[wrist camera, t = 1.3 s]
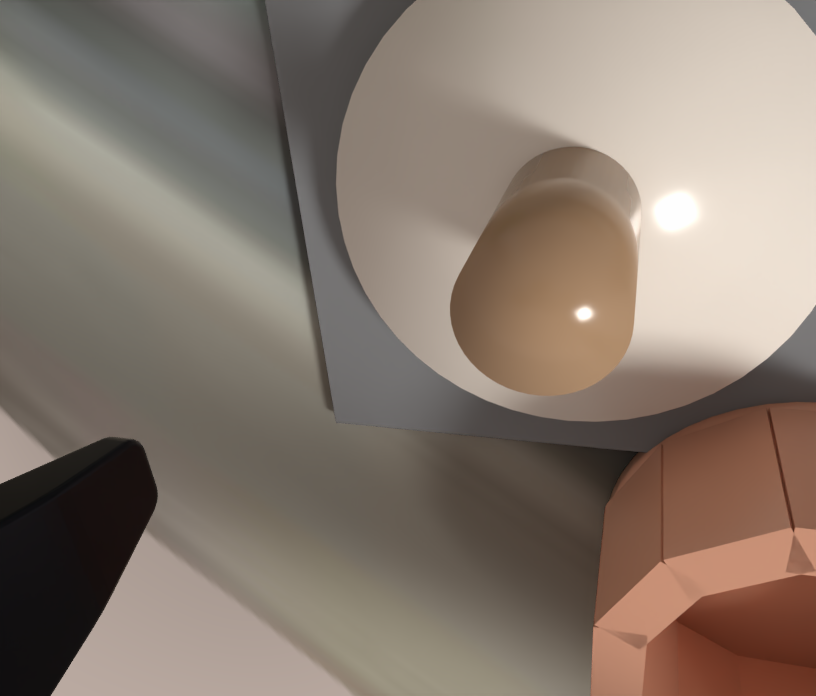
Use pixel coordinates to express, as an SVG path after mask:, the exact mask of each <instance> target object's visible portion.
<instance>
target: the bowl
mask: <svg viewBox="0 0 816 696" xmlns="http://www.w3.org/2000/svg"><path fill="white" fill-rule="evenodd" d="M591 696H816V402H789V403H775V404H765V405H759V406H753V407H748V408H742V409H737V410H734V411H730V412H727V413H723V414H720V415H716V416H712V417H710V418H707V419H705V420H702V421H700V422H698V423H695V424H693V425H690V426H688V427H686V428H684V429H682V430H680V431H679V432H677V433H675V434H673V435H671V436H670V437H668V438H666V439H665V440H663V441H662V442H661V443H659V444H658V445H656V446H655V447H654V448H652V449H651V450H650V451H648V452H647V453H644V452H638V453H637V454H636V455H635V456H634V457H633V458H632V460H631V461H630V462H629V464H628V465H627V466H626V468H625V469H624V470H623V472H622V473H621V475H620V477H619V479H618V481H617V482H616V484H615V486H614V488H613V491H612V494H611V497H610V500H609V502H608V503H607V504H606V507H605V512H604V522H603V533H602V543H601V553H600V564H599V574H598V584H597V594H596V605H595V615H594V625H593V647H592V672H591Z"/></svg>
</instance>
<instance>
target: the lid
mask: <svg viewBox="0 0 816 696" xmlns="http://www.w3.org/2000/svg"><path fill="white" fill-rule="evenodd" d="M336 190H337V202H338V214H339V218H340V223H341V228H342V233H343V238H344V242H345V245H346V248H347V251H348V254H349V257H350V260H351V262H352V265H353V268H354V270H355V272H356V274H357V277H358V279H359V281H360V283H361V285H362V287H363V289H364V291H365V293H366V295H367V296H368V298H369V299H370V301H371V303H372V304H373V306H374V307H375V309H376V311H377V312H378V314H379V315H380V317H381V318H382V319H383V320H384V322H385V323H386V324H387V325H388V327H389V328H390V329H391V330H392V332H393V333H394V334H395V335H396V337H397V338H398V339H399V340H400V341H401V342H402V343H403V344H404V345H405V346H406V347H407V348H408V349H409V350H410V351H411V352H412V353H413V354H414V355H415V356H416V357H418V358H419V359H420V360H421V361H423V362H424V363H425V364H426V365H428V366H429V367H430V368H432V369H433V370H434V371H435V372H437V373H438V374H439V375H441V376H443V377H444V378H446V379H447V380H449V381H451V382H452V383H454V384H455V385H457V386H458V387H460V388H462V389H464V390H466V391H468V392H470V393H472V394H474V395H476V396H478V397H480V398H482V399H484V400H486V401H489V402H492V403H495V404H497V405H500V406H503V407H506V408H508V409H511V410H514V411H518V412H522V413H526V414H530V415H535V416H539V417H545V418H552V419H559V420H566V421H590V422H600V421H614V420H627V419H632V418H638V417H643V416H649V415H654V414H658V413H662V412H665V411H668V410H672V409H675V408H679V407H682V406H685V405H688V404H690V403H692V402H695V401H697V400H699V399H702V398H704V397H706V396H709V395H711V394H714V393H715V392H717V391H719V390H721V389H722V388H724V387H726V386H728V385H729V384H731V383H733V382H735V381H737V380H738V379H740V378H742V377H743V376H744V375H746V374H747V373H748V372H750V371H751V370H753V369H754V368H755V367H757V366H758V365H759V364H761V363H762V362H763V361H765V360H766V359H767V358H768V357H770V356H771V355H772V354H773V353H774V352H775V351H776V350H777V349H778V348H779V347H780V346H781V345H782V344H783V343H784V342H785V341H787V340H788V339H789V338H790V337H791V336H792V334H793V333H794V332H795V331H796V330H797V328H798V327H799V326H800V325H801V323H802V322H803V321H804V320H805V319H806V317H807V316H808V315H809V314H810V312H811V311H812V310H813V308H814V307H815V305H816V35H815V34H814V33H813V32H812V30H811V29H810V28H809V27H808V25H807V24H806V23H805V22H804V20H803V19H802V18H801V17H800V15H799V14H798V13H797V12H796V10H795V9H794V8H793V7H792V6H791V5H790V4H789V3H788V2H786V1H785V0H416V1H415V2H414V3H413V4H412V5H411V6H409V7H408V8H407V9H406V10H405V11H404V13H403V14H402V15H401V16H400V17H399V19H398V20H397V21H396V22H395V23H394V24H393V26H392V27H391V28H390V29H389V30H388V32H387V33H386V34H385V35H384V36H383V38H382V40H381V41H380V43H379V44H378V46H377V47H376V49H375V51H374V52H373V54H372V55H371V57H370V58H369V60H368V62H367V63H366V65H365V67H364V69H363V71H362V73H361V76H360V78H359V80H358V82H357V84H356V86H355V89H354V91H353V93H352V95H351V99H350V102H349V105H348V108H347V112H346V115H345V118H344V121H343V124H342V130H341V136H340V142H339V148H338V153H337V173H336Z"/></svg>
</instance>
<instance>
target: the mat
mask: <svg viewBox="0 0 816 696" xmlns="http://www.w3.org/2000/svg"><path fill="white" fill-rule="evenodd" d="M415 1H416V0H265V5H266V11H267V16H268V22H269V28H270V34H271V40H272V46H273V52H274V58H275V64H276V70H277V76H278V82H279V88H280V94H281V99H282V105H283V111H284V117H285V123H286V129H287V135H288V141H289V147H290V153H291V159H292V165H293V171H294V176H295V182H296V188H297V194H298V200H299V206H300V212H301V218H302V224H303V230H304V236H305V242H306V248H307V254H308V259H309V265H310V271H311V277H312V283H313V289H314V295H315V301H316V307H317V313H318V319H319V325H320V331H321V336H322V342H323V348H324V354H325V360H326V366H327V372H328V378H329V384H330V390H331V396H332V402H333V408H334V413H335V419H336V423H345V424H356V425H366V426H376V427H387V428H397V429H407V430H417V431H428V432H438V433H448V434H459V435H469V436H479V437H490V438H500V439H510V440H521V441H531V442H541V443H551V444H562V445H572V446H582V447H593V448H603V449H613V450H624V451H634V452H644V453H647V452H648V451H650V450H651V449H652V448H654V447H655V446H656V445H658V444H659V443H661V442H662V441H663V440H665V439H666V438H668V437H670V436H671V435H673V434H675V433H677V432H679V431H680V430H682V429H684V428H686V427H688V426H690V425H693V424H695V423H698V422H700V421H702V420H705V419H707V418H710V417H712V416H716V415H720V414H723V413H727V412H730V411H734V410H737V409H742V408H748V407H753V406H759V405H765V404H775V403H789V402H816V305H815V307H814V308H813V310H812V311H811V312H810V314H809V315H808V316H807V317H806V319H805V320H804V321H803V322H802V323H801V325H800V326H799V327H798V328H797V330H796V331H795V332H794V333H793V334H792V336H791V337H790V338H789V339H788V340H787V341H785V342H784V343H783V344H782V345H781V346H780V347H779V348H778V349H777V350H776V351H775V352H774V353H773V354H772V355H771V356H770V357H768V358H767V359H766V360H765V361H763V362H762V363H761V364H759V365H758V366H757V367H755V368H754V369H753V370H751V371H750V372H748V373H747V374H746V375H744V376H743V377H742V378H740V379H738V380H737V381H735V382H733V383H731V384H729V385H728V386H726V387H724V388H722V389H721V390H719V391H717V392H715V393H714V394H711V395H709V396H706V397H704V398H702V399H699V400H697V401H695V402H692V403H690V404H688V405H685V406H682V407H679V408H675V409H672V410H668V411H665V412H662V413H658V414H654V415H649V416H643V417H638V418H632V419H627V420H614V421H600V422H590V421H566V420H559V419H552V418H545V417H539V416H535V415H530V414H526V413H522V412H518V411H514V410H511V409H508V408H506V407H503V406H500V405H497V404H495V403H492V402H489V401H486V400H484V399H482V398H480V397H478V396H476V395H474V394H472V393H470V392H468V391H466V390H464V389H462V388H460V387H458V386H457V385H455V384H454V383H452V382H451V381H449V380H447V379H446V378H444V377H443V376H441V375H439V374H438V373H437V372H435V371H434V370H433V369H432V368H430V367H429V366H428V365H426V364H425V363H424V362H423V361H421V360H420V359H419V358H418V357H416V356H415V355H414V354H413V353H412V352H411V351H410V350H409V349H408V348H407V347H406V346H405V345H404V344H403V343H402V342H401V341H400V340H399V339H398V338H397V337H396V335H395V334H394V333H393V332H392V330H391V329H390V328H389V327H388V325H387V324H386V323H385V322H384V320H383V319H382V318H381V317H380V315H379V314H378V312H377V311H376V309H375V307H374V306H373V304H372V303H371V301H370V299H369V298H368V296H367V295H366V293H365V291H364V289H363V287H362V285H361V283H360V281H359V279H358V277H357V274H356V272H355V270H354V268H353V265H352V262H351V260H350V257H349V254H348V251H347V248H346V245H345V242H344V238H343V233H342V228H341V223H340V218H339V214H338V202H337V190H336V173H337V153H338V148H339V142H340V136H341V130H342V124H343V121H344V118H345V115H346V112H347V108H348V105H349V102H350V99H351V95H352V93H353V91H354V89H355V86H356V84H357V82H358V80H359V78H360V76H361V73H362V71H363V69H364V67H365V65H366V63H367V62H368V60H369V58H370V57H371V55H372V54H373V52H374V51H375V49H376V47H377V46H378V44H379V43H380V41H381V40H382V38H383V36H384V35H385V34H386V33H387V32H388V30H389V29H390V28H391V27H392V26H393V24H394V23H395V22H396V21H397V20H398V19H399V17H400V16H401V15H402V14H403V13H404V11H405V10H406V9H407V8H408V7H409V6H411V5H412V4H413V3H414V2H415ZM785 1H786V2H788V3H789V4H790V5H791V6H792V7H793V8H794V9H795V10H796V12H797V13H798V14H799V15H800V17H801V18H802V19H803V20H804V22H805V23H806V24H807V25H808V27H809V28H810V29H811V30H812V32H813V33H814V34H815V35H816V0H785Z"/></svg>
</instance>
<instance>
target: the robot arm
mask: <svg viewBox="0 0 816 696" xmlns="http://www.w3.org/2000/svg"><path fill="white" fill-rule="evenodd" d="M157 497H158V492H157V487H156V483H155V480H154V477H153V474H152V471H151V468H150V465H149V462H148V459H147V456H146V453H145V450H144V448H143V446H142V445H141V444H140V443H139V441H136V440H134V439H127V438H118V437H107V438H104V439H101V440H99V441H97V442H95V443H92V444H90V445H88V446H86V447H83V448H81V449H79V450H76V451H74V452H72V453H70V454H67V455H65V456H63V457H61V458H58V459H56V460H54V461H52V462H49V463H47V464H45V465H42V466H40V467H38V468H36V469H33V470H31V471H29V472H26V473H24V474H22V475H20V476H17V477H15V478H13V479H11V480H8V481H6V482H4V483H1V484H0V696H51V694H52V693H53V691H54V690H55V688H56V686H57V685H58V683H59V682H60V680H61V678H62V677H63V675H64V674H65V672H66V670H67V669H68V667H69V666H70V664H71V662H72V661H73V659H74V658H75V656H76V654H77V653H78V651H79V649H80V648H81V647H82V645H83V643H84V642H85V640H86V639H87V637H88V635H89V634H90V632H91V631H92V629H93V627H94V626H95V624H96V622H97V621H98V619H99V617H100V615H101V613H102V612H103V610H104V608H105V607H106V605H107V603H108V601H109V599H110V597H111V595H112V593H113V591H114V589H115V587H116V585H117V583H118V581H119V579H120V577H121V575H122V573H123V571H124V569H125V567H126V565H127V564H128V562H129V560H130V558H131V556H132V554H133V552H134V550H135V547H136V545H137V544H138V542H139V540H140V538H141V536H142V534H143V532H144V530H145V528H146V526H147V524H148V522H149V520H150V518H151V516H152V514H153V512H154V510H155V507H156V503H157Z"/></svg>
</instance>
